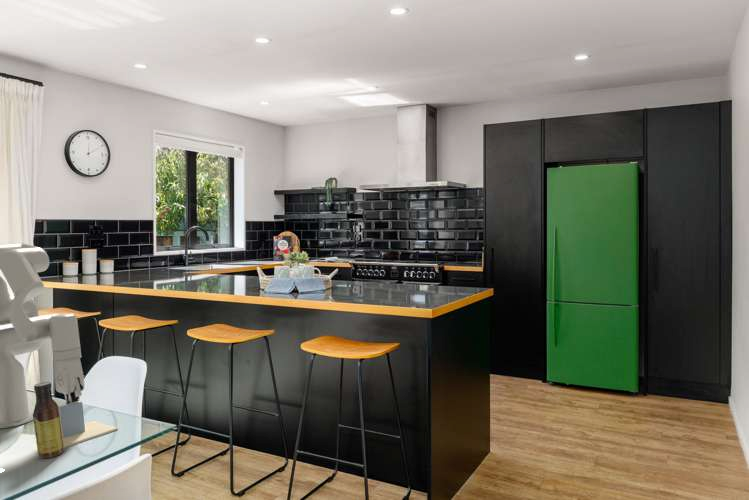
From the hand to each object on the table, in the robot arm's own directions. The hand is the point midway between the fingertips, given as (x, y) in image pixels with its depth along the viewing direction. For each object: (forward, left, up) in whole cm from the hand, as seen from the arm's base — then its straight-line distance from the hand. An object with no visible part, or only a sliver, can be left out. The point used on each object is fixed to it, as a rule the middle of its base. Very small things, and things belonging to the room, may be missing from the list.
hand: (74, 413), depth 173 cm
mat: (+4, -1, -6) cm, 7 cm away
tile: (+4, +1, 0) cm, 4 cm away
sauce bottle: (+15, -13, -6) cm, 20 cm away
